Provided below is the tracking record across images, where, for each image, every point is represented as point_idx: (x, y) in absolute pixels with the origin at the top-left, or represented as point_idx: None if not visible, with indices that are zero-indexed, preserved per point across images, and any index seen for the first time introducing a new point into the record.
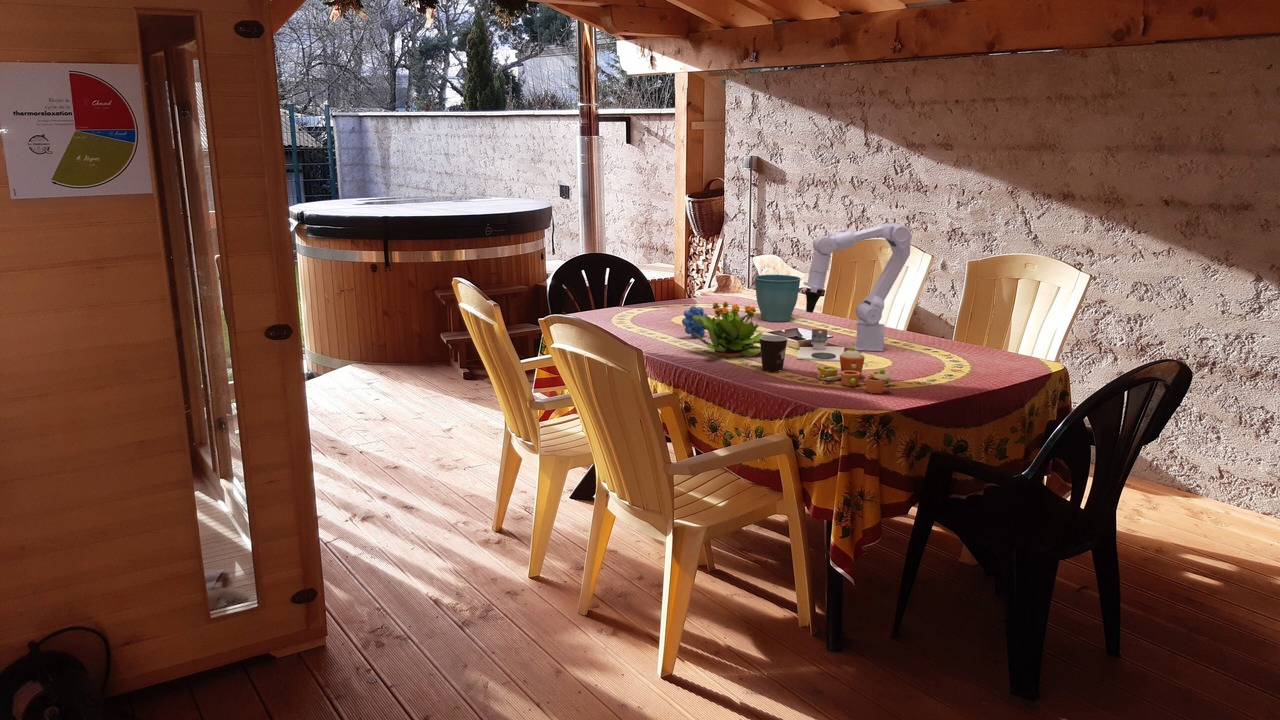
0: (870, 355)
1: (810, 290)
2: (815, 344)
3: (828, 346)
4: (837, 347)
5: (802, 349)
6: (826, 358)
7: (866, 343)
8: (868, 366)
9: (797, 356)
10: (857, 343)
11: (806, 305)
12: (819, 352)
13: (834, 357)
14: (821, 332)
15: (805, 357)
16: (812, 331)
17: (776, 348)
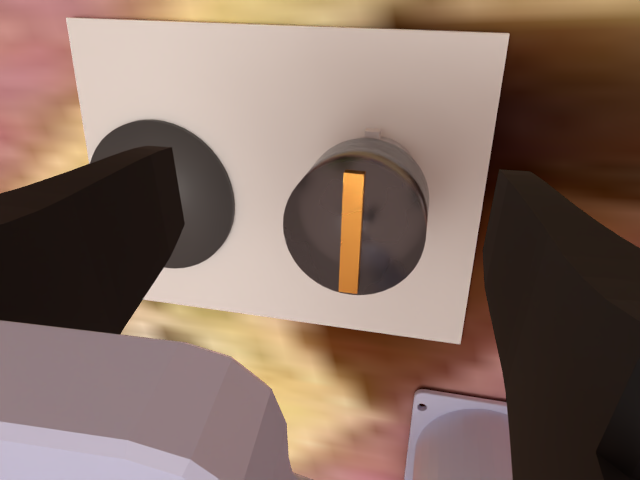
0: (306, 435)
1: (596, 421)
2: None
3: (468, 249)
4: (441, 302)
5: (332, 54)
6: None
7: (413, 472)
8: None
9: (100, 21)
10: (456, 429)
11: (74, 170)
12: (262, 177)
13: None
14: (285, 239)
15: (92, 79)
16: (327, 163)
17: None
